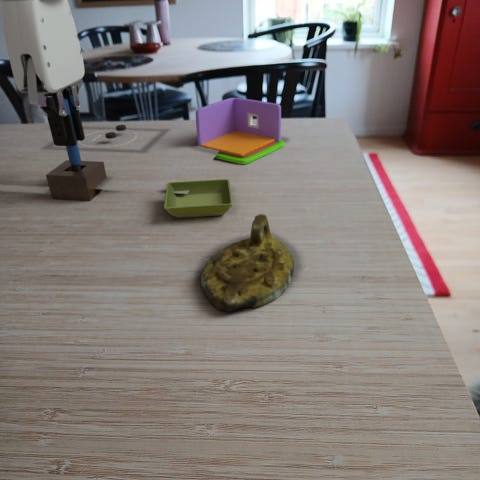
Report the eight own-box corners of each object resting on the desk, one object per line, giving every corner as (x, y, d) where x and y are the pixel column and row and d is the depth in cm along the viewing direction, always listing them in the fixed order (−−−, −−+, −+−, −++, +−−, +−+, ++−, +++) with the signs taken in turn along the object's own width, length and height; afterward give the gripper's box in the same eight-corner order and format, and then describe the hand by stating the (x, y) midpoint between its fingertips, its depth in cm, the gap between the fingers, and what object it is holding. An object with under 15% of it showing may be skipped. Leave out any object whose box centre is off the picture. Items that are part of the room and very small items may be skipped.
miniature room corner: (233, 133, 94) (232, 94, 90) (287, 144, 88) (288, 102, 84) (189, 152, 87) (185, 110, 83) (244, 165, 81) (243, 120, 77)
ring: (47, 153, 89) (45, 147, 89) (78, 132, 99) (77, 126, 98) (143, 157, 86) (142, 150, 85) (167, 135, 95) (166, 129, 95)
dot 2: (114, 130, 92) (113, 127, 92) (118, 127, 93) (117, 124, 93) (123, 131, 92) (123, 127, 91) (127, 128, 93) (127, 124, 93)
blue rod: (70, 175, 73) (52, 101, 67) (75, 171, 74) (58, 98, 68) (80, 176, 72) (63, 101, 67) (86, 172, 74) (69, 98, 68)
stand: (51, 198, 73) (45, 174, 71) (71, 182, 78) (66, 160, 76) (90, 201, 72) (85, 176, 70) (108, 184, 77) (103, 161, 75)
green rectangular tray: (230, 192, 73) (229, 178, 71) (233, 219, 66) (233, 203, 64) (168, 196, 72) (166, 182, 71) (165, 223, 65) (163, 208, 64)
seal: (278, 330, 48) (300, 251, 60) (284, 289, 45) (306, 214, 57) (183, 311, 50) (223, 237, 61) (183, 270, 47) (225, 201, 58)
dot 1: (104, 138, 89) (103, 135, 88) (108, 135, 90) (107, 131, 90) (113, 138, 88) (113, 135, 88) (118, 135, 90) (117, 132, 89)
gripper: (38, -20, 67) (72, 125, 78) (-40, -10, 54) (14, 161, 65) (91, -23, 65) (118, 126, 76) (23, -13, 53) (67, 163, 64)
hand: (69, 141), depth 71 cm, fingers closed on blue rod, 1 cm apart
